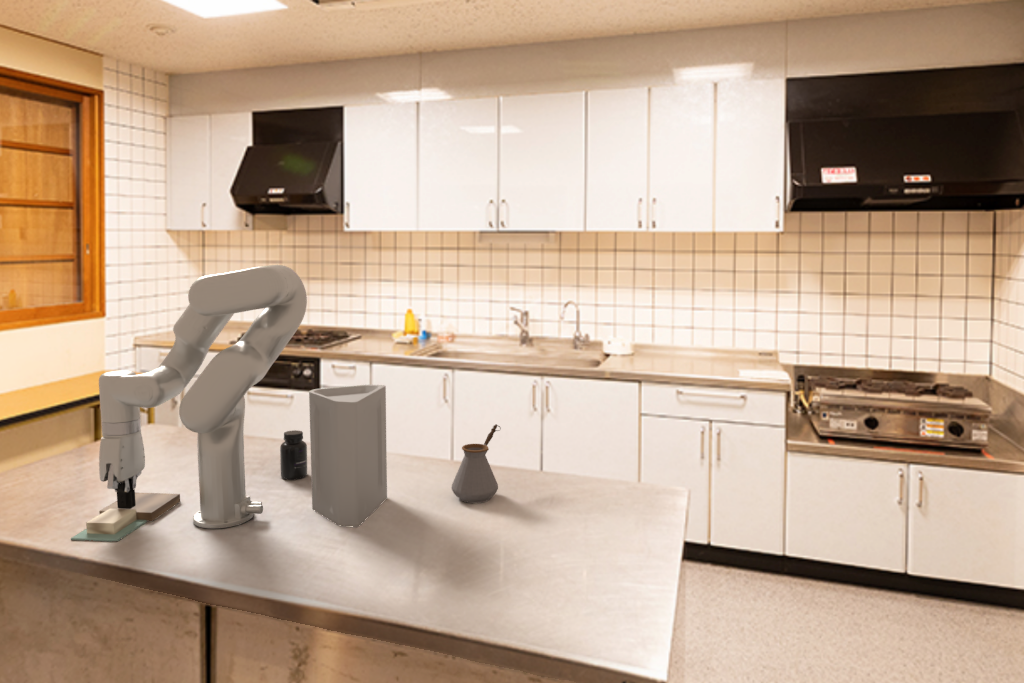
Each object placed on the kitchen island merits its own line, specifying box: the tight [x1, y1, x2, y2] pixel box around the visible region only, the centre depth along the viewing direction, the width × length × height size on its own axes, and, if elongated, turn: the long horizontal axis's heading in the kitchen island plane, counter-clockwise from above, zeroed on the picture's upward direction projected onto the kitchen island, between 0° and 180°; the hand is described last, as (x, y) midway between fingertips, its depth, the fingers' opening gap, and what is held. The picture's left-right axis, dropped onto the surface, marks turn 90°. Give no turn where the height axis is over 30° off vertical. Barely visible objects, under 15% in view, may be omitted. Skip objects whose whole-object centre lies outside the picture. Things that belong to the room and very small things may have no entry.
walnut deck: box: [98, 491, 181, 522], centre depth 163 cm, size 12×12×2 cm
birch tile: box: [85, 509, 137, 534], centre depth 153 cm, size 6×8×2 cm
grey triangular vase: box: [308, 384, 388, 528], centre depth 164 cm, size 19×15×28 cm
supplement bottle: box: [279, 429, 308, 481], centre depth 188 cm, size 7×7×12 cm
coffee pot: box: [451, 424, 502, 504], centre depth 178 cm, size 21×12×15 cm, turn 161°
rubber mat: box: [70, 520, 148, 542], centre depth 152 cm, size 10×11×1 cm
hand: (126, 507), depth 158 cm, fingers closed
